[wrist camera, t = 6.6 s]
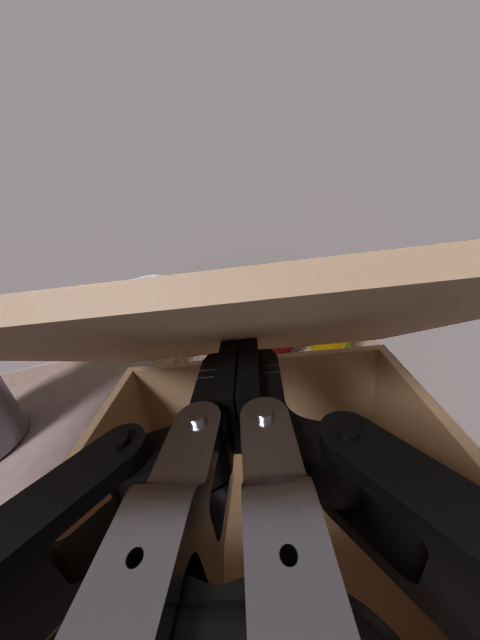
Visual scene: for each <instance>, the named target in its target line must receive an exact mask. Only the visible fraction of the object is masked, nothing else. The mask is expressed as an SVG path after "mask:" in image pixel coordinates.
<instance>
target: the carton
mask: <svg viewBox="0 0 480 640" xmlns="http://www.w3.org/2000/svg"><path fill="white" fill-rule="evenodd" d="M277 356H278V362H279V368H280V374H281V380H282V386H283V392H284V398H285V402H286V404H287V406H288V407H289V409H290V410H291V411H292V412H294V413H295V414H297V415H299V416H301V417H304V418H307V419H312V420H317V421H321V420H322V418H323V417H324V416H325V415H327V414H329V413H331V412H335V411H349V412H353V413H356V414H359V415H361V416H363V417H365V418H366V419H368V420H370V421H371V422H373V423H375V424H376V425H378V426H380V427H381V428H383V429H385V430H386V431H388V432H390V433H391V434H393V435H395V436H396V437H398V438H400V439H401V440H403V441H405V442H406V443H408V444H410V445H411V446H413V447H415V448H417V449H418V450H420V451H422V452H423V453H425V454H427V455H428V456H430V457H432V458H433V459H435V460H437V461H438V462H440V463H442V464H443V465H445V466H447V467H448V468H450V469H452V470H453V471H455V472H457V473H458V474H460V475H462V476H463V477H465V478H467V479H468V480H470V481H472V482H474V483H475V484H477V485H479V486H480V449H479V448H478V447H477V446H476V445H475V444H474V443H473V442H472V441H471V440H470V438H469V437H468V436H467V435H466V434H465V433H464V432H463V431H462V430H461V429H460V427H459V426H458V425H457V424H456V423H455V422H454V421H453V420H452V419H451V418H450V416H449V415H448V414H447V413H446V412H445V411H444V410H443V409H442V408H441V407H440V406H439V404H438V403H437V402H436V401H435V400H434V399H433V398H432V397H431V396H430V395H429V393H428V392H427V391H426V390H425V389H424V388H423V387H422V386H421V385H420V384H419V383H418V381H417V380H416V379H415V378H414V377H413V376H412V375H411V374H410V373H409V372H408V370H407V369H406V368H405V367H404V366H403V365H402V364H401V363H400V362H399V361H398V359H396V357H395V356H394V355H393V354H392V353H391V352H390V351H389V350H388V349H387V347H386V346H385V345H374V346H363V347H351V348H340V349H329V350H318V351H306V352H295V353H284V354H277ZM201 363H202V361H193V362H182V363H171V364H159V365H148V366H137V367H128V369H127V370H126V372H125V373H124V375H123V376H122V377H121V379H120V380H119V382H118V383H117V385H116V386H115V388H114V389H113V390H112V392H111V393H110V395H109V396H108V398H107V399H106V401H105V402H104V403H103V405H102V406H101V408H100V409H99V411H98V412H97V414H96V415H95V416H94V418H93V419H92V421H91V422H90V424H89V425H88V427H87V428H86V429H85V431H84V432H83V434H82V435H81V437H80V438H79V440H78V441H77V442H76V444H75V445H74V447H73V448H72V450H71V451H70V453H69V454H68V455H67V457H66V458H65V460H64V461H66V460H67V459H69V458H70V457H72V456H73V455H75V454H76V453H77V452H79V451H80V450H82V449H83V448H85V447H86V446H87V445H89V444H90V443H92V442H93V441H95V440H96V439H98V438H99V437H100V436H102V435H103V434H105V433H106V432H108V431H109V430H111V429H113V428H115V427H117V426H119V425H122V424H127V423H136V424H139V425H141V426H142V427H143V428H144V431H145V433H149V432H152V431H156V430H159V429H162V428H165V427H167V426H170V425H171V424H172V423H173V421H174V419H175V417H176V415H177V414H178V412H179V411H180V410H181V409H183V408H184V407H185V406H187V405H189V404H190V401H191V397H192V394H193V390H194V387H195V384H196V380H197V379H198V374H199V372H200V367H201ZM64 461H63V462H64ZM242 483H243V469H242V454H234V462H233V486H232V493H231V500H230V508H229V515H228V522H227V530H226V537H225V545H224V584H225V583H228V582H231V581H233V580H236V579H239V578H242V577H244V553H243V528H242V503H241V484H242ZM111 498H112V496H111V495H110V494H109V495H107V496H106V497H105V498H104V499H103V500H102V501H100V502H99V503H98V504H97V505H96V506H95V507H93V508H92V509H91V510H90V511H89V512H88V513H86V514H85V515H84V516H83V517H82V518H81V519H79V520H78V521H77V522H76V523H75V524H74V525H72V526H71V527H70V528H69V529H68V530H67V531H66V532H64V533H63V534H62V535H61V536H60V537H59V538H58V539H57V540H56V541H60V540H62V539H64V538H66V537H67V536H69V535H70V534H71V533H72V532H74V531H75V530H76V529H77V528H78V527H79V526H80V525H82V524H83V523H84V522H85V521H86V520H87V519H88V518H90V517H91V516H92V515H93V514H94V513H95V512H96V511H97V510H99V509H100V508H101V507H102V506H103V505H104V504H105V503H107V502H108V501H109V500H110V499H111ZM320 505H321V504H320ZM321 509H322V512H323V516H324V519H325V522H326V526H327V529H328V532H329V536H330V539H331V542H332V546H333V549H334V552H335V556H336V559H337V562H338V566H339V569H340V572H341V576H342V579H343V582H344V586H345V589H346V592H347V593H348V594H349V595H351V596H353V597H354V598H356V599H357V600H359V601H360V602H362V603H363V604H365V605H366V606H367V607H368V608H369V609H371V610H372V611H373V612H374V613H375V614H377V615H378V616H379V617H380V618H381V619H382V620H383V621H384V622H385V623H386V624H387V625H388V626H389V627H390V628H391V629H392V630H393V631H394V632H395V633H396V634H397V635H398V637H399V638H400V639H401V640H450V639H449V638H448V637H447V636H446V635H445V634H444V633H443V632H442V631H441V629H440V628H439V627H438V626H437V625H436V624H435V623H434V622H433V621H432V620H431V619H430V618H429V617H428V616H427V615H426V614H425V613H424V612H423V611H422V610H421V609H420V608H419V607H418V606H417V605H416V604H415V603H414V602H413V601H412V600H411V599H410V598H409V597H408V596H407V595H406V594H405V593H404V592H403V591H402V590H401V589H400V588H399V587H398V586H397V585H396V584H395V583H394V582H393V581H392V580H391V579H390V578H389V577H388V576H387V575H386V574H385V573H384V572H383V571H382V570H381V569H380V568H379V567H378V566H377V564H376V563H375V562H374V561H373V560H372V559H371V558H370V557H369V556H368V555H367V554H366V553H365V552H364V551H363V550H362V549H361V548H360V547H359V546H358V545H357V544H356V543H355V542H354V541H353V540H352V539H351V538H350V537H349V536H348V535H347V534H346V533H345V532H344V531H343V530H342V529H341V528H340V527H339V526H338V525H337V524H336V523H335V522H334V521H333V520H332V519H331V518H330V517H329V516H328V515H327V513H326V512H325V511H324V510H323V508H322V506H321ZM62 623H63V621H62ZM62 623H61V624H60V625H59V626H58V627H57V628H56V629H55V630H54V631H53V632H52V633H51V634H50V635H49V636H48V637H47V639H46V640H49V639H50V638H51V637H52V636H53V634H54V633H55V632H56V631H57V630H58V629H59V628H60V627H61V625H62Z"/></svg>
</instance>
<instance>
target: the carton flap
mask: <svg viewBox="0 0 480 640" xmlns="http://www.w3.org/2000/svg"><path fill="white" fill-rule="evenodd" d="M477 319H480V239H477V240H468V241H459V242H450V243H442V244H433V245H424V246H415V247H407V248H398V249H390V250H381V251H372V252H364V253H355V254H346V255H338V256H330V257H321V258H312V259H304V260H295V261H286V262H278V263H269V264H261V265H251V266H243V267H234V268H226V269H217V270H208V271H200V272H191V273H182V274H174V275H165V276H156V277H148V278H139V279H131V280H122V281H114V282H106V283H96V284H87V285H79V286H71V287H62V288H53V289H44V290H37V291H27V292H18V293H10V294H1V295H0V361H94V362H132V361H143V360H154V359H165V358H177V357H188V356H199V355H209V354H212V353H218V352H219V347H220V343H221V341H227V340H240V339H248V338H257V341H258V350H259V349H276V348H287V347H299V346H310V345H321V344H332V343H343V342H354V341H365V340H376V339H384V338H389V337H394V336H399V335H404V334H408V333H413V332H418V331H423V330H428V329H433V328H438V327H443V326H448V325H453V324H458V323H462V322H467V321H472V320H477Z"/></svg>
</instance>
